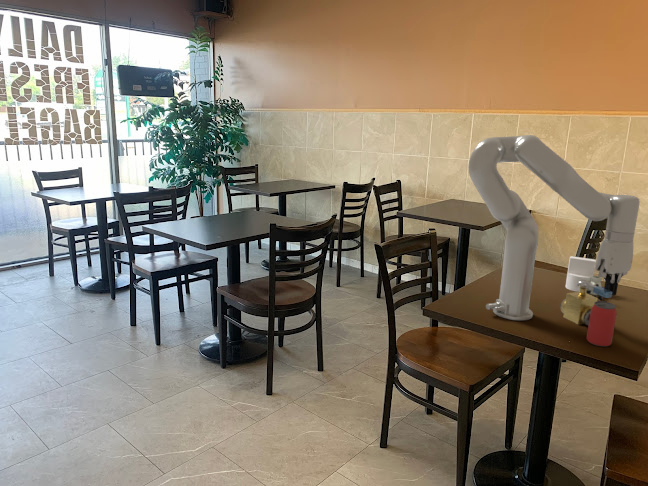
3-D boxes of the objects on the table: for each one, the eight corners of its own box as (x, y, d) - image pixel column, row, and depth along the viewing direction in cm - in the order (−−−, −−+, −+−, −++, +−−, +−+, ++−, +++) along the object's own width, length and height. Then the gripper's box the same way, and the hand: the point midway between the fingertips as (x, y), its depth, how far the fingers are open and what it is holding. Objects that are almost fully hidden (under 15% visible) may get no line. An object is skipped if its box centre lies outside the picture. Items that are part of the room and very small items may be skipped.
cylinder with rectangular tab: (564, 289, 195) (568, 259, 192) (566, 283, 203) (570, 254, 200) (590, 294, 191) (595, 263, 188) (591, 287, 199) (596, 257, 196)
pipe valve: (600, 325, 162) (606, 292, 159) (584, 328, 160) (590, 294, 157) (572, 311, 173) (577, 280, 170) (557, 313, 171) (561, 282, 168)
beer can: (584, 336, 154) (590, 299, 151) (608, 339, 152) (614, 302, 149) (588, 345, 148) (594, 307, 145) (613, 348, 146) (620, 310, 143)
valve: (583, 290, 195) (584, 300, 185) (586, 274, 193) (587, 283, 183) (603, 293, 192) (604, 303, 182) (606, 276, 191) (607, 286, 180)
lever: (574, 285, 165) (575, 280, 164) (583, 284, 166) (584, 279, 165) (603, 298, 154) (604, 292, 153) (613, 297, 155) (614, 291, 154)
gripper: (626, 232, 159) (617, 287, 163) (590, 235, 154) (581, 292, 158) (648, 237, 152) (638, 295, 156) (611, 241, 147) (601, 300, 151)
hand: (609, 293), depth 157 cm, fingers closed
